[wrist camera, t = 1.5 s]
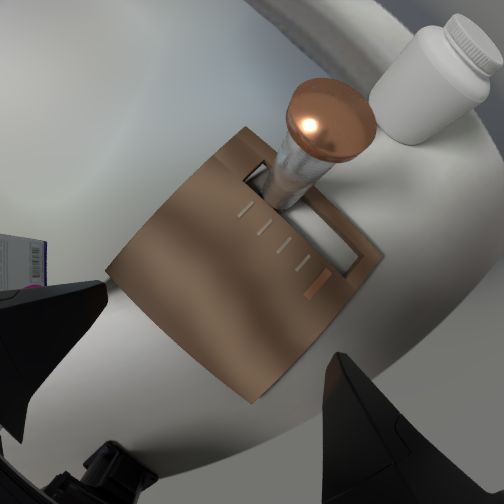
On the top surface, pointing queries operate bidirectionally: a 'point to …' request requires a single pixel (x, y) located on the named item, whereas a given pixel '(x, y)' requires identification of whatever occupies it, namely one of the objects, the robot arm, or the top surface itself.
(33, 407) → the top surface
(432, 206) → the top surface
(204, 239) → the brown wooden flat board
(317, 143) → the capped cylinder
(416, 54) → the pill bottle
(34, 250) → the supplement box
